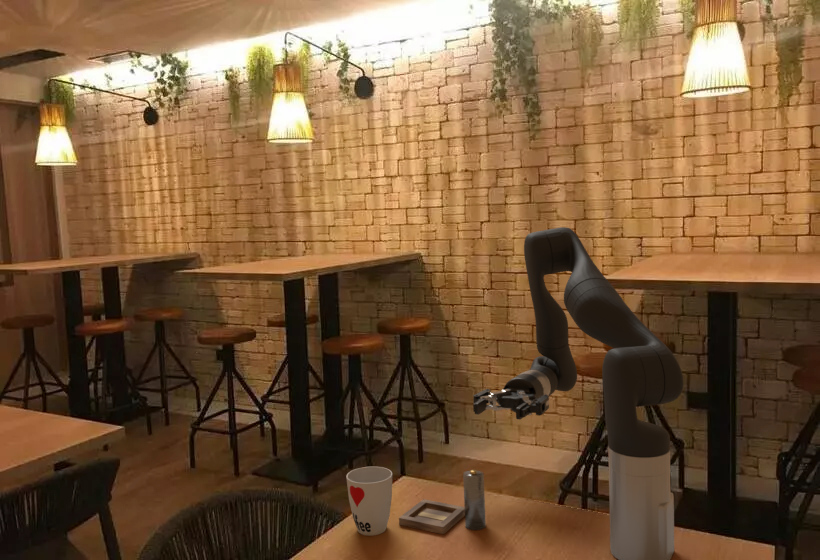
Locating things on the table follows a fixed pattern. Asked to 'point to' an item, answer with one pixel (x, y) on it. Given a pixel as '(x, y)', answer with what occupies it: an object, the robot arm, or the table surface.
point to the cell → (474, 500)
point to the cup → (370, 498)
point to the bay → (432, 516)
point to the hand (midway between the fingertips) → (496, 411)
